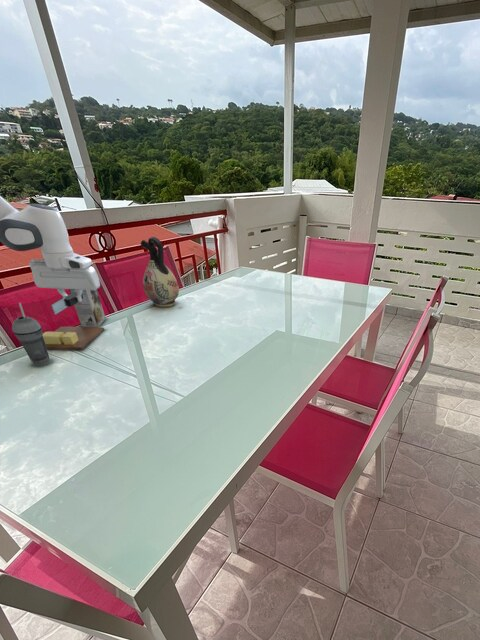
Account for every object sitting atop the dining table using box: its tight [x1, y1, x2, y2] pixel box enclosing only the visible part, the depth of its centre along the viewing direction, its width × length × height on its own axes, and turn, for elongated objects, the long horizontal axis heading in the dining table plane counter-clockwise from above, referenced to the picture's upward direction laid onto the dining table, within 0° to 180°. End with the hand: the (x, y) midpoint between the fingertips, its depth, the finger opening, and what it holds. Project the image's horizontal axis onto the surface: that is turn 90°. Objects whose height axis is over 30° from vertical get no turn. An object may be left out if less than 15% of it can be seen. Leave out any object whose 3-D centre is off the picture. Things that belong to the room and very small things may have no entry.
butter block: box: [43, 331, 64, 344], centre depth 117 cm, size 6×4×3 cm, turn 93°
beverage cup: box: [11, 302, 51, 368], centre depth 102 cm, size 7×7×20 cm
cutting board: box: [46, 326, 105, 351], centre depth 122 cm, size 16×18×1 cm
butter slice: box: [62, 332, 78, 345], centre depth 117 cm, size 3×4×3 cm
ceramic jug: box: [140, 236, 180, 308], centre depth 150 cm, size 17×15×30 cm
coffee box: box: [68, 289, 106, 327], centre depth 131 cm, size 9×6×16 cm
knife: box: [50, 292, 83, 315], centre depth 114 cm, size 2×17×3 cm, turn 4°
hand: (73, 300), depth 118 cm, fingers closed on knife, 2 cm apart
